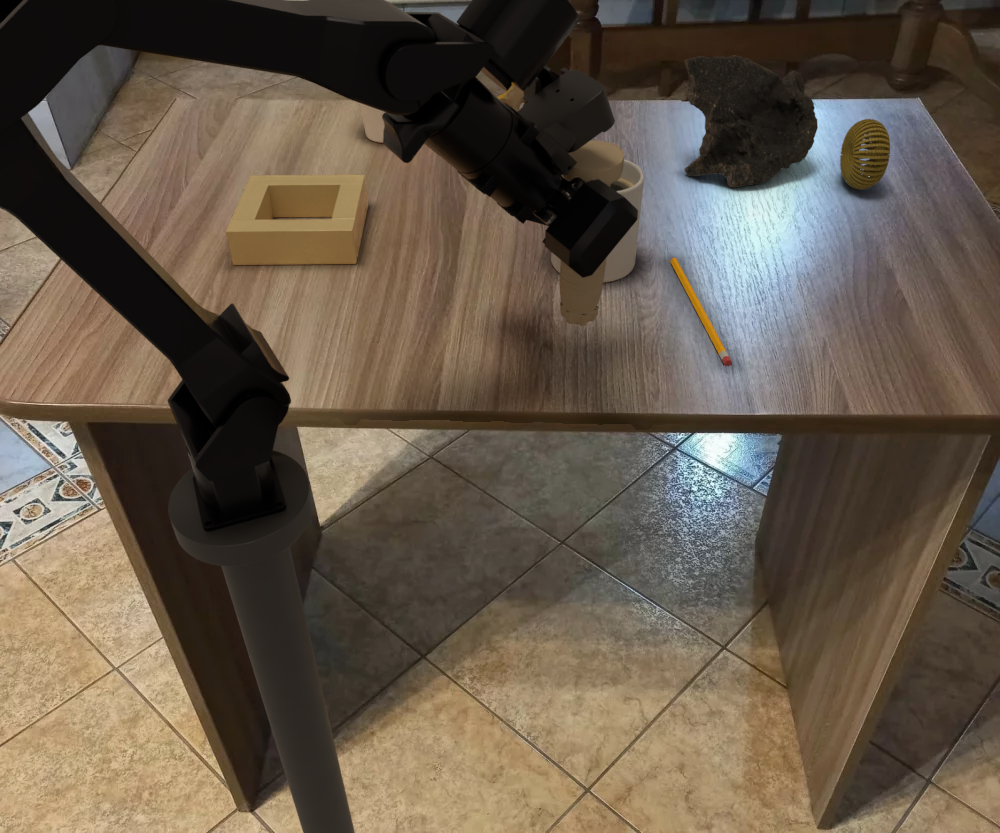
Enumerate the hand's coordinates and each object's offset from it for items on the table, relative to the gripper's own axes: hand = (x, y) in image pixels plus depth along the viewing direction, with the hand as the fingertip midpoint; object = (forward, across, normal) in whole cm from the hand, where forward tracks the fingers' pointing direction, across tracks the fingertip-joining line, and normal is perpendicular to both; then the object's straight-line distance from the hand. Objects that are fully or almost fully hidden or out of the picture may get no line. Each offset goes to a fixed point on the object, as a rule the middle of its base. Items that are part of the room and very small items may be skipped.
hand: (596, 238), depth 76 cm
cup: (+11, +54, +6) cm, 55 cm away
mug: (+15, +14, +1) cm, 20 cm away
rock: (+35, +23, -19) cm, 46 cm away
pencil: (+18, 0, -1) cm, 18 cm away
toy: (+18, +44, -2) cm, 48 cm away
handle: (+4, 0, +6) cm, 8 cm away
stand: (-3, +33, +19) cm, 39 cm away
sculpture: (+41, +12, -25) cm, 50 cm away
